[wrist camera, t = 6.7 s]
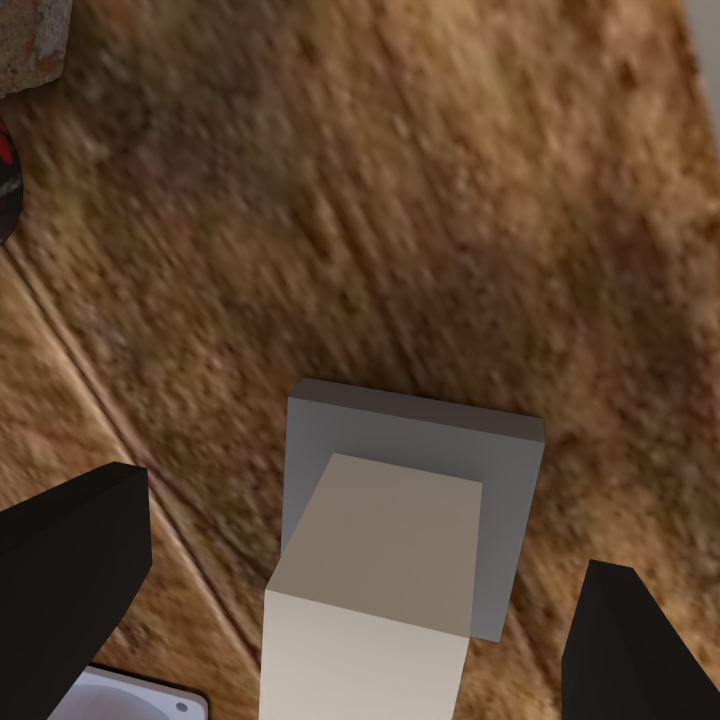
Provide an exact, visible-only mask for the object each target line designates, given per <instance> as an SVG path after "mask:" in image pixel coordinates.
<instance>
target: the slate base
mask: <svg viewBox="0 0 720 720" xmlns="http://www.w3.org/2000/svg"><path fill="white" fill-rule="evenodd" d="M544 447H545V433H544V422H543V418H537V417H531V416H526V415H520V414H514V413H508V412H503V411H497V410H491V409H485V408H479V407H474V406H468V405H462V404H456V403H451V402H445V401H439V400H433V399H427V398H422V397H416V396H410V395H404V394H399V393H393V392H387V391H381V390H376V389H370V388H364V387H358V386H352V385H347V384H341V383H335V382H329V381H324V380H318V379H312V378H306V377H302V379H301V380H300V381H299V383H298V384H297V385H296V387H295V388H294V389H293V391H292V392H291V393H290V395H289V396H288V407H287V428H286V450H285V472H284V494H283V515H282V537H281V557H282V555H283V553H284V551H285V549H286V547H287V545H288V543H289V541H290V539H291V537H292V535H293V533H294V531H295V529H296V527H297V525H298V523H299V521H300V519H301V517H302V515H303V513H304V511H305V509H306V507H307V505H308V503H309V501H310V499H311V497H312V495H313V493H314V491H315V489H316V487H317V485H318V483H319V481H320V479H321V477H322V475H323V473H324V471H325V469H326V467H327V465H328V463H329V461H330V459H331V457H332V455H333V453H337V454H342V455H347V456H352V457H357V458H362V459H367V460H372V461H377V462H382V463H387V464H392V465H397V466H402V467H407V468H412V469H417V470H422V471H427V472H432V473H437V474H442V475H446V476H451V477H456V478H461V479H466V480H471V481H476V482H481V483H482V493H481V505H480V517H479V529H478V541H477V554H476V566H475V578H474V590H473V602H472V614H471V627H470V636H472V637H477V638H481V639H485V640H490V641H494V642H498V643H500V638H501V634H502V630H503V625H504V621H505V617H506V612H507V608H508V604H509V599H510V595H511V591H512V586H513V582H514V577H515V573H516V569H517V564H518V560H519V556H520V551H521V547H522V543H523V538H524V534H525V529H526V525H527V521H528V516H529V512H530V508H531V503H532V499H533V495H534V490H535V486H536V482H537V477H538V473H539V468H540V464H541V460H542V455H543V451H544Z"/></svg>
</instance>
